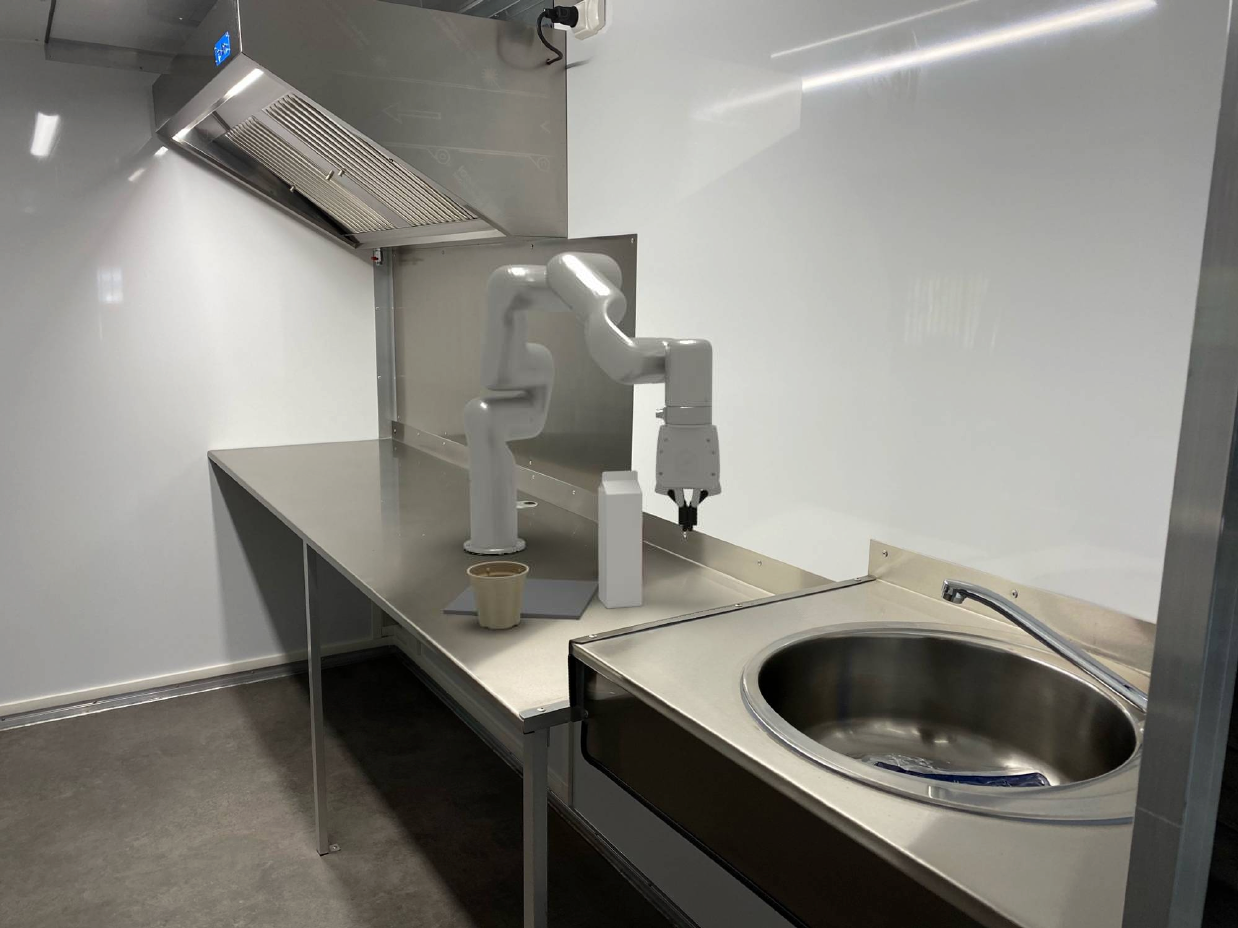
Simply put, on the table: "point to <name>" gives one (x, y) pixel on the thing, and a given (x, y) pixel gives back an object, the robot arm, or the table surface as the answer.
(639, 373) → the robot arm
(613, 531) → the milk
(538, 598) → the mat
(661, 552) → the table surface
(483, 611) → the flower pot
